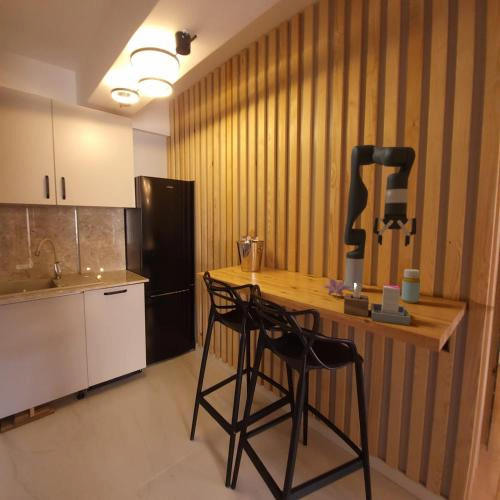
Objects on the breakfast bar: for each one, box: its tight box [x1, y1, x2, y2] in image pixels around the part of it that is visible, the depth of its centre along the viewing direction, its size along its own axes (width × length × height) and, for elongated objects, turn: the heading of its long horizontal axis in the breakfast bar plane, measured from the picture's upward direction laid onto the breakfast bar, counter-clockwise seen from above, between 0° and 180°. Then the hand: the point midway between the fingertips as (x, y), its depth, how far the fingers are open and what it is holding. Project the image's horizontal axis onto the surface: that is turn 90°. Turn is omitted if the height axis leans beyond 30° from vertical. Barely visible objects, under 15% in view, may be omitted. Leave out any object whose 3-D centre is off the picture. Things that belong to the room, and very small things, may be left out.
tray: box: [370, 302, 411, 326], centre depth 107 cm, size 14×13×3 cm
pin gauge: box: [352, 282, 362, 299], centre depth 113 cm, size 3×3×12 cm
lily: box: [323, 277, 351, 300], centre depth 134 cm, size 12×12×10 cm
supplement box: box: [381, 283, 401, 315], centre depth 106 cm, size 6×6×12 cm
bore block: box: [343, 293, 370, 317], centre depth 113 cm, size 9×9×6 cm
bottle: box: [400, 268, 421, 305], centre depth 127 cm, size 7×7×15 cm
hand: (393, 245), depth 104 cm, fingers open, 8 cm apart
